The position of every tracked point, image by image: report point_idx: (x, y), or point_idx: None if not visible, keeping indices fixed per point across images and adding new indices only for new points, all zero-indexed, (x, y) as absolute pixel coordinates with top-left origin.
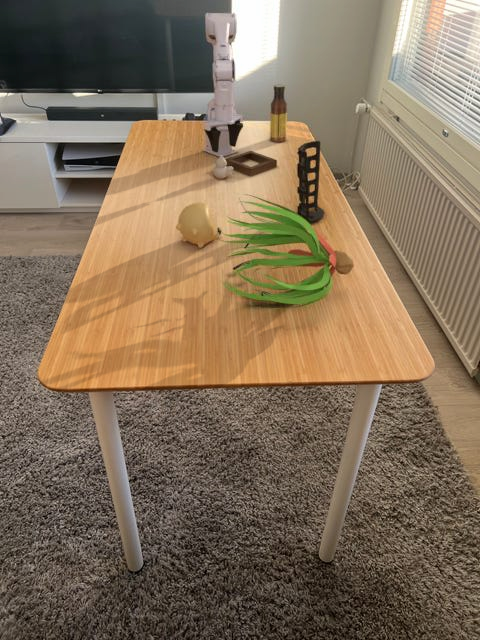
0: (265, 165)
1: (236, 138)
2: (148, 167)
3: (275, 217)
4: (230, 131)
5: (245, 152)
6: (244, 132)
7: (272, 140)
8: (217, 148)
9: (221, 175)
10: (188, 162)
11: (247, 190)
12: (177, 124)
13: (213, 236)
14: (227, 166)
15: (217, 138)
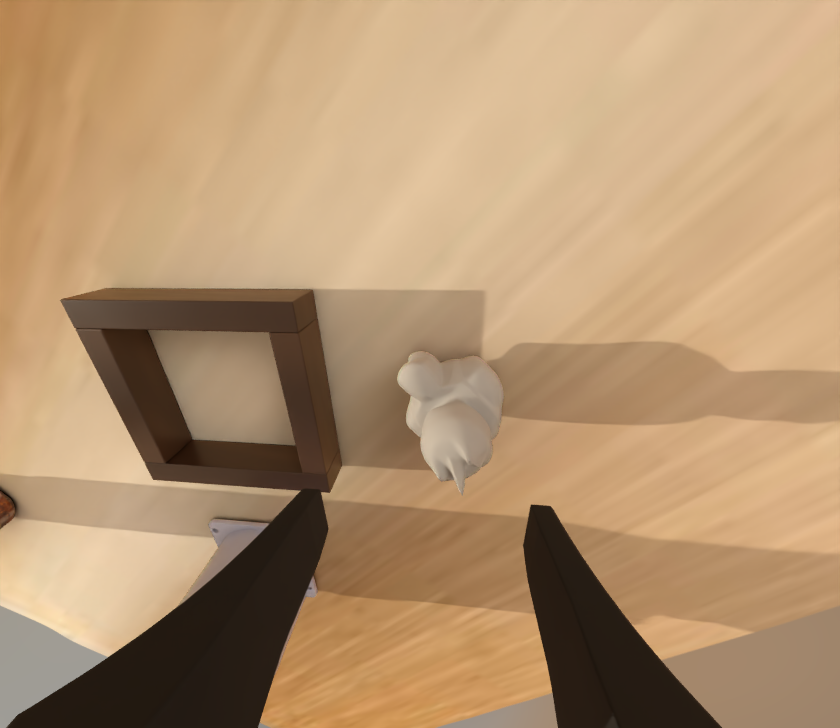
0: (167, 297)
1: (260, 554)
2: None
3: None
4: (258, 683)
5: (189, 480)
6: (95, 596)
7: (11, 503)
8: (558, 535)
9: (492, 370)
10: (438, 568)
11: (486, 116)
12: (263, 712)
13: None
14: (338, 452)
15: (647, 685)
